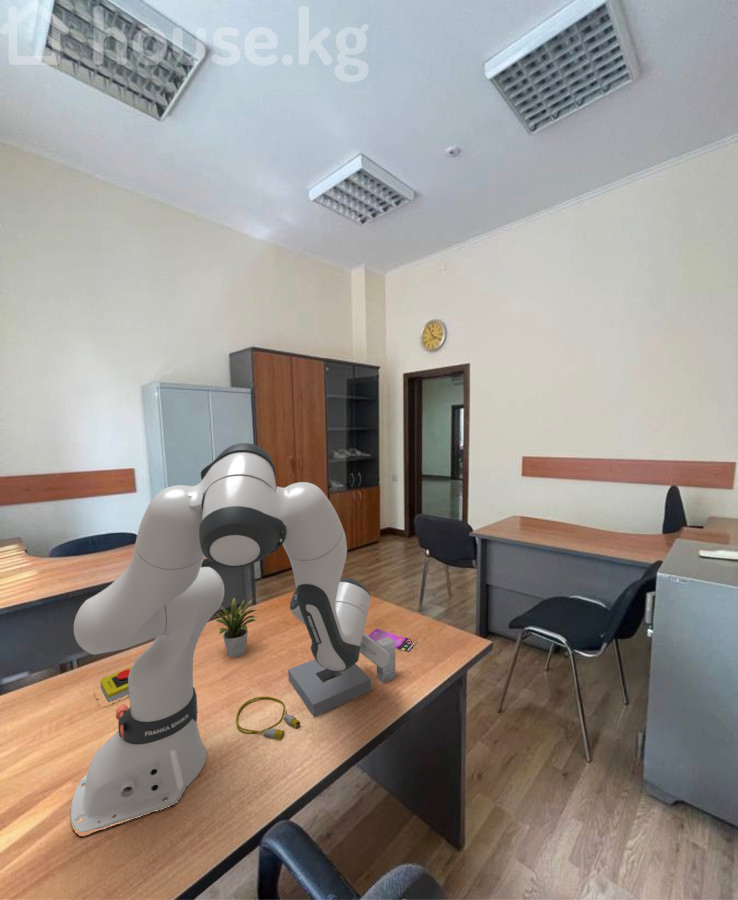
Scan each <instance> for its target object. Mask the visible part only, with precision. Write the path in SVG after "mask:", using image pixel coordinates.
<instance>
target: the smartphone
mask: <svg viewBox="0 0 738 900" xmlns="http://www.w3.org/2000/svg"><path fill="white" fill-rule="evenodd" d="M395 634H396V633H392V632H390V633H389V631H386V630H383V629H380V628H375V629H374V630H373V631H372V632H370V633H369V634H368V636H369V637H370V638H371V639H373V640H374V641H375V642H376V641H378V640H381V639H383V638H386V637H390V638H391V639H392V640H393V641H395V650H399V651H402V652H405V653H410V652H411V650H412V649H413V648H414V647H413V646H415V645H413V644H414V643H412V640H411V639H412V638H410V639H409V637H406V636H403V637H405V638H403V637H401V636H402V635H400V637H398V636H396V635H397V634H396V635H395ZM400 638H401V640H399V639H400ZM408 639H409V640H410V641H411V643H412V644H411V643H410V641H407V640H408ZM406 641H407V642H406ZM415 643H416V642H415ZM416 644H417V643H416Z"/></svg>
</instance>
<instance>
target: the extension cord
mask: <svg viewBox="0 0 738 900" xmlns="http://www.w3.org/2000/svg"><path fill="white" fill-rule="evenodd" d="M263 700H264V701H265V700H269V701H272V702H273V701H274V702H277V703H279V704H280V705H282V708H283V709H282V712H281V717H280V719H279V720H278V722H276V723H275V724H273V725H270V726H269V727H266V728H264V729H262V730H254V729H253V730H252V729H247V728H244V727H242V726H241V725H240V724H239V716H240V713H241V711H242V710H243V709H244V708H245V707H246V706H248V705H249V704H251V703H254V702H258V701H263ZM285 709H286V705H285V703H284V702H283V701H282V700H280V699H279V698H276V697H273V696H272V697H271V696H258V697H253V698H251V699H248V700H247V701H246V702H244V703H243V704H242V705H241V706H240V707H239V709H238V711H237V712H236V715H235V716H236V717H235V723H236V729H237V730H238V732H240V733H242V734H246V735H257V734H263V735H264V736H265V737H267V738H269V739H274V740H282V739H283V737H284V735H285V730H283V729H277V728H274V727H276V726H277V725H279V724H280V723H281V722H282V720H284V721H285V722H286V723H287V725H288V726H290V727H293V728H294V729H297V727H300V726H301V721H300V720H299V719H297V717H295V716H294V715H290V714H288V710H285Z"/></svg>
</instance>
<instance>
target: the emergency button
mask: <svg viewBox="0 0 738 900" xmlns="http://www.w3.org/2000/svg"><path fill="white" fill-rule="evenodd" d="M132 666H133V665H131V666H130V667H127V668H124V669H122V670H120V671H117V672H115V673H112V674H110V675H107V676H104V677H102V678H101V679H100V684H99V685H100V688H101V690H102V692H103V694H104V696H105V698H106V700H107V701H108V702H111V701H114V700H117V699H119V698H122V697H124V696H126V695H129V685H128V676H129V673H130V670H131V668H132ZM100 688H99V689H100Z"/></svg>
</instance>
